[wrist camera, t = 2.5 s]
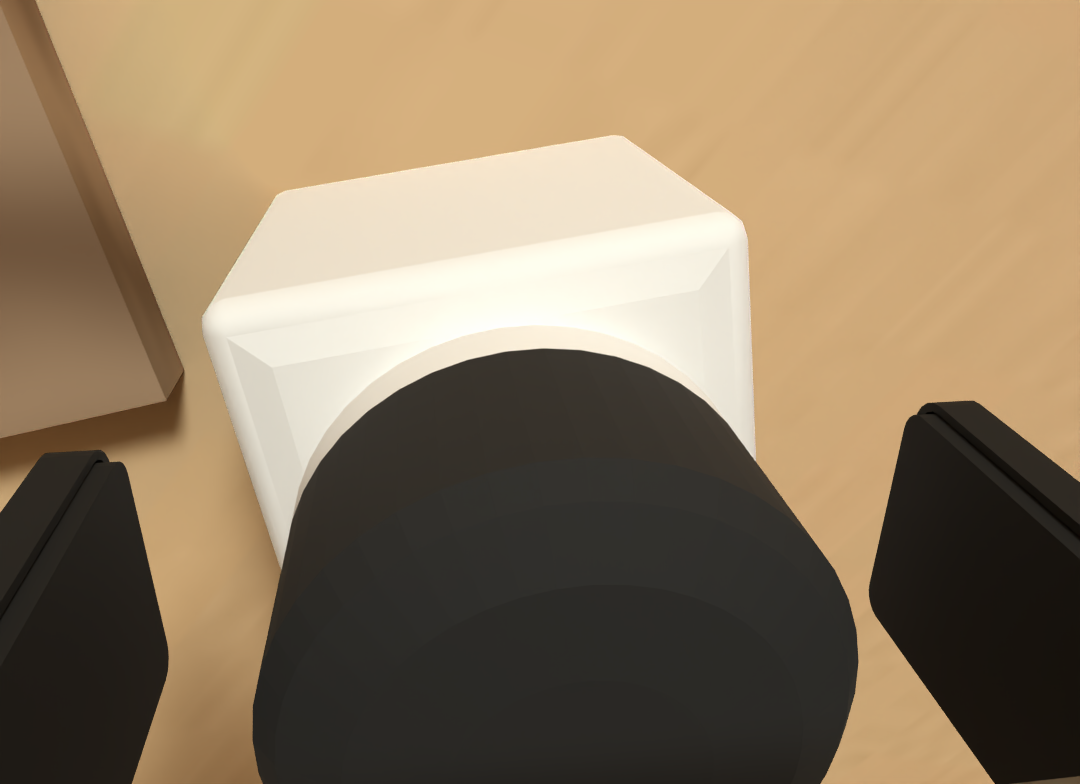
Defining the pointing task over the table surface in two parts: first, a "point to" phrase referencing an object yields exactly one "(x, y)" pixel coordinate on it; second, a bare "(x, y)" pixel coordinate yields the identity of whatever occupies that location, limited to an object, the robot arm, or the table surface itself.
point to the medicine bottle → (522, 485)
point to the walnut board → (65, 256)
